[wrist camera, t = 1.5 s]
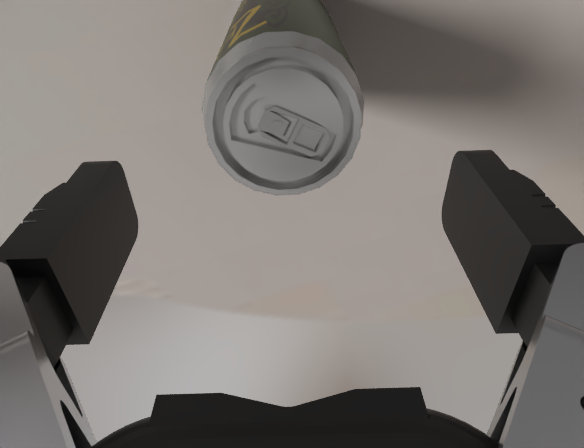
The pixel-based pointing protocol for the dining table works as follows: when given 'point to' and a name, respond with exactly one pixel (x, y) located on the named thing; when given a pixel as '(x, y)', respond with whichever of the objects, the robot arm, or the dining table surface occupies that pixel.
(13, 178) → the dining table surface
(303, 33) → the beer can
